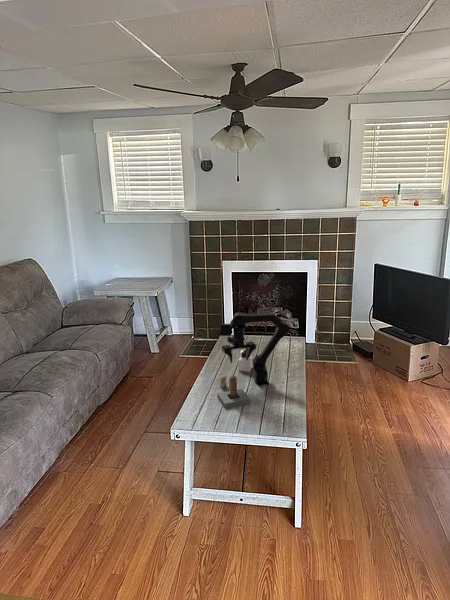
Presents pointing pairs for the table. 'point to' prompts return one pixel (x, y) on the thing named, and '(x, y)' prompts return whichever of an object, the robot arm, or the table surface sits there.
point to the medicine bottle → (244, 362)
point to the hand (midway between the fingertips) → (239, 361)
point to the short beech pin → (223, 381)
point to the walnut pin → (233, 387)
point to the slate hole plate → (227, 402)
